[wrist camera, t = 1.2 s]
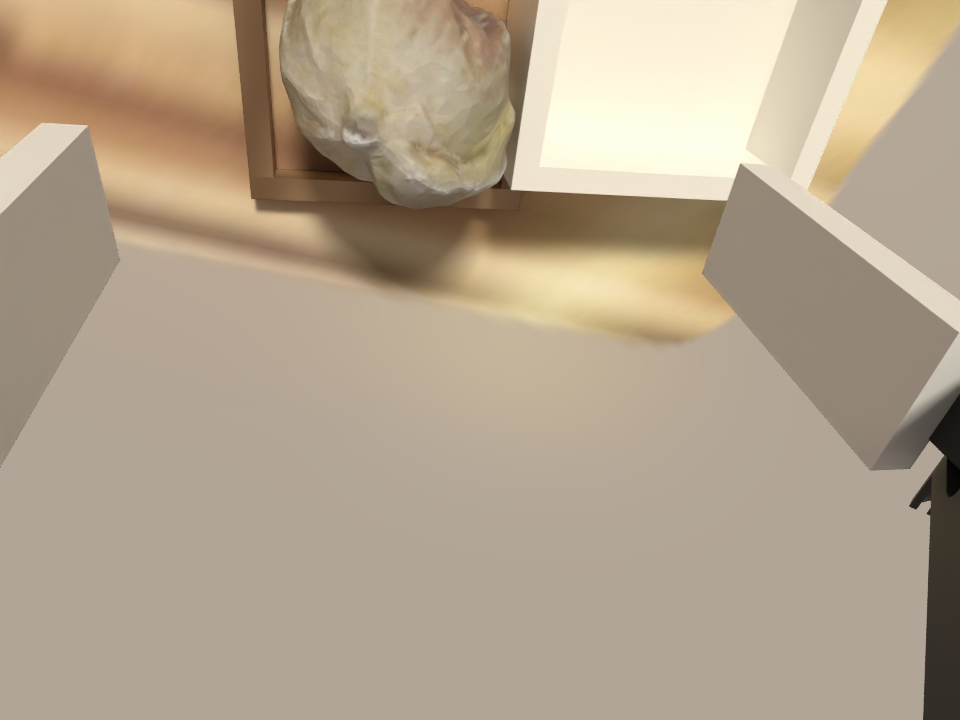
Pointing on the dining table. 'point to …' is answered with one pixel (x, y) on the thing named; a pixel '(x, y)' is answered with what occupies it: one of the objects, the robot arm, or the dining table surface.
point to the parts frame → (261, 138)
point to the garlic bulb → (402, 93)
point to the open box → (676, 91)
